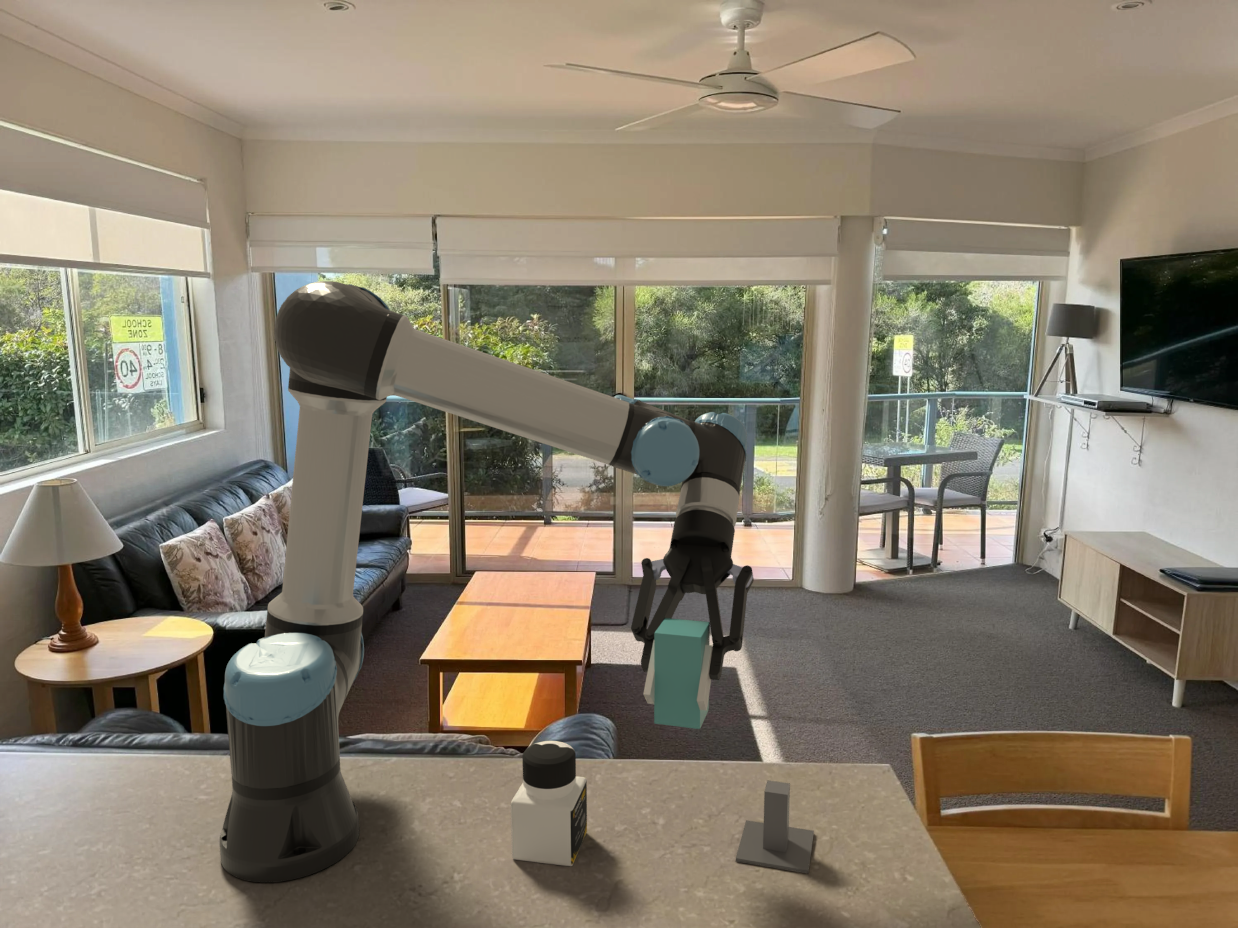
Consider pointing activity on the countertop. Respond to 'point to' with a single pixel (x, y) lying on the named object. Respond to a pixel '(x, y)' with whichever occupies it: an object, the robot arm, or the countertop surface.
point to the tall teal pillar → (679, 671)
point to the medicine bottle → (549, 806)
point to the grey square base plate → (776, 835)
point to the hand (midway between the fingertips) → (675, 701)
